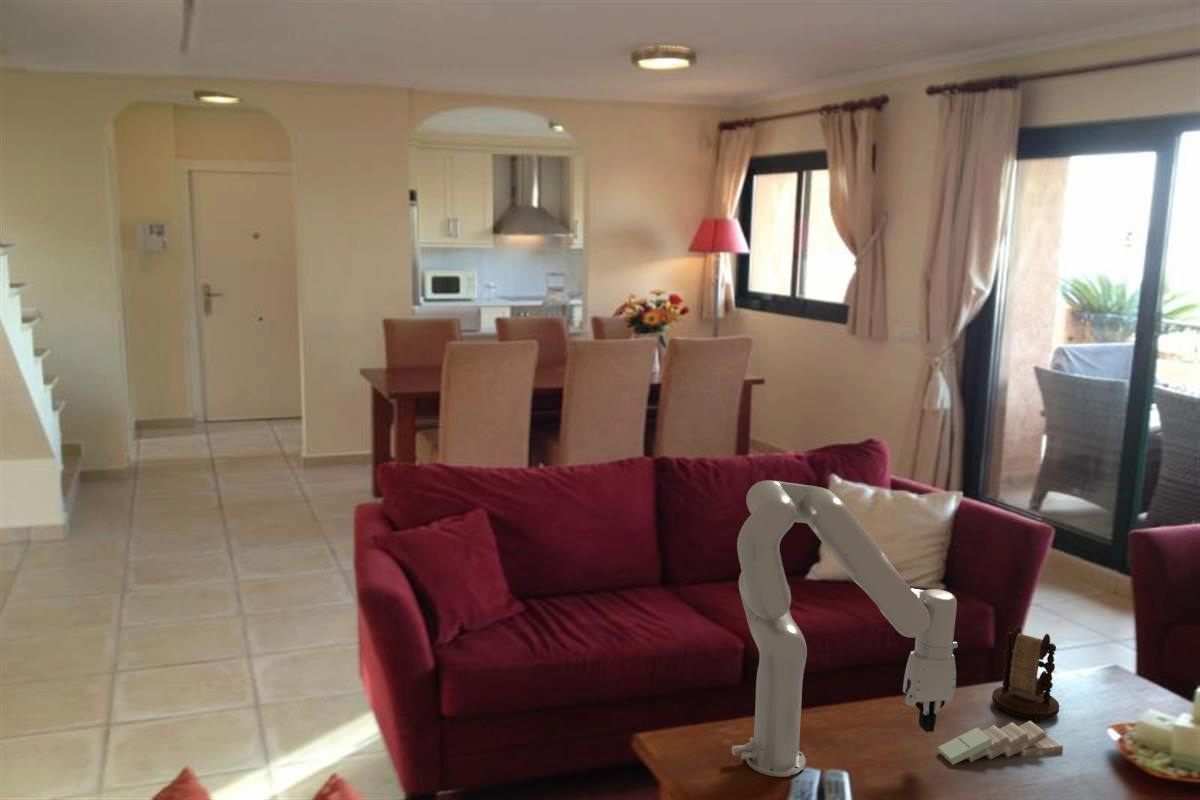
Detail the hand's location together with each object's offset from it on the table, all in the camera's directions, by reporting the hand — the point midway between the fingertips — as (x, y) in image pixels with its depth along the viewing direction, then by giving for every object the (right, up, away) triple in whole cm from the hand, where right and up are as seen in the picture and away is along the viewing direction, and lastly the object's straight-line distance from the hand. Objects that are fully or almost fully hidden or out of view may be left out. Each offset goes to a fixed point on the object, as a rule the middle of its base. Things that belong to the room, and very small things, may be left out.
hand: (926, 728), depth 212 cm
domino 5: (+21, -6, +6) cm, 23 cm away
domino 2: (+9, -6, +3) cm, 11 cm away
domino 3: (+13, -6, +4) cm, 15 cm away
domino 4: (+18, -6, +5) cm, 19 cm away
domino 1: (+5, -6, +2) cm, 8 cm away
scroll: (+32, -4, +25) cm, 40 cm away
